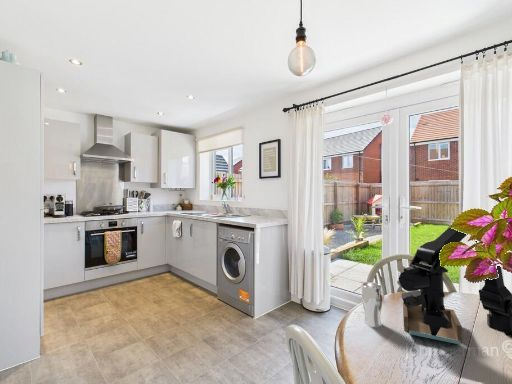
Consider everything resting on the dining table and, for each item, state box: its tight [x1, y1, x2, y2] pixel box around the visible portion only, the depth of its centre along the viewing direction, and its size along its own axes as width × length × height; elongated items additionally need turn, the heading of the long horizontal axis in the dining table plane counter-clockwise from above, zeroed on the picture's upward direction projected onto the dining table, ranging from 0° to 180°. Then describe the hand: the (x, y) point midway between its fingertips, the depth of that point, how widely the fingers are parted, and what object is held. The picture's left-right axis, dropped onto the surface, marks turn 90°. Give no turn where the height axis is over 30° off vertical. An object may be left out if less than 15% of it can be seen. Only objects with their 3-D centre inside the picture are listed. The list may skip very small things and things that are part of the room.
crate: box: [402, 301, 464, 344], centre depth 90 cm, size 16×13×6 cm
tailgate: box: [408, 330, 461, 345], centre depth 82 cm, size 13×1×7 cm
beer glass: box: [361, 281, 384, 329], centre depth 94 cm, size 7×7×15 cm
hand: (433, 335), depth 81 cm, fingers closed, pressing on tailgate
